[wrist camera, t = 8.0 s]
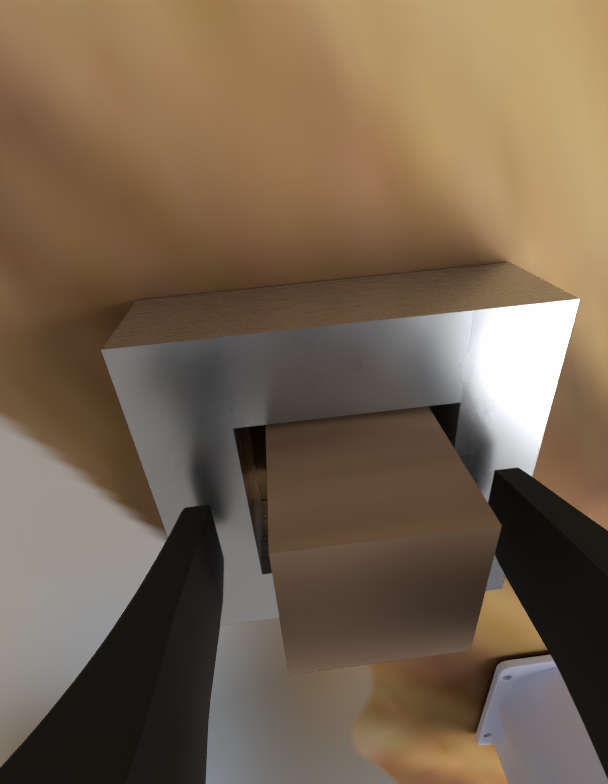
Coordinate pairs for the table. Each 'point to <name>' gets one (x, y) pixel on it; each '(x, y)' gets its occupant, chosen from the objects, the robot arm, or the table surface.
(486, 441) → the socket block
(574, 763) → the robot arm
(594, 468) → the table surface
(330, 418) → the square bit
